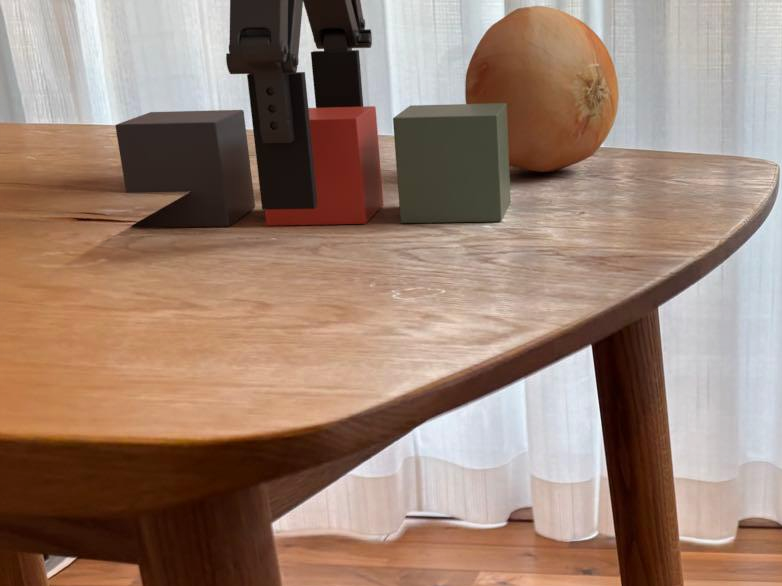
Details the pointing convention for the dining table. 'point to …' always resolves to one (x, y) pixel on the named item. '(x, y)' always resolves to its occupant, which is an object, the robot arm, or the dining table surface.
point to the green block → (452, 163)
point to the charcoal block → (189, 165)
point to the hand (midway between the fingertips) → (319, 185)
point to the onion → (546, 86)
